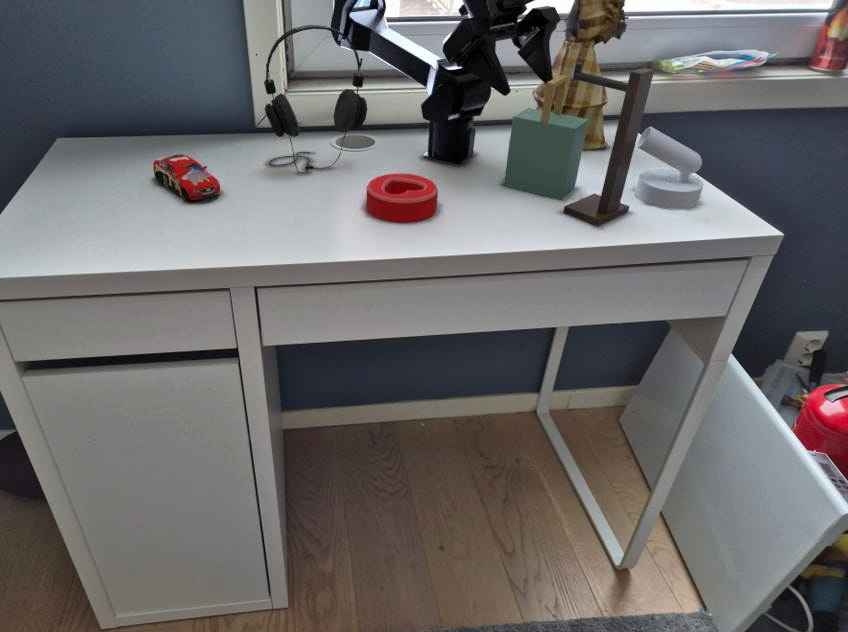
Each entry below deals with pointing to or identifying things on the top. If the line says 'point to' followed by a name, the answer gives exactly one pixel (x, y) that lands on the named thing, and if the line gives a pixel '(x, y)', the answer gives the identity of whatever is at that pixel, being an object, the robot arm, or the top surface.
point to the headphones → (347, 107)
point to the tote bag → (546, 147)
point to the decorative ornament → (401, 198)
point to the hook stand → (615, 147)
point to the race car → (185, 177)
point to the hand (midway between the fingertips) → (529, 88)
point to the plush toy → (585, 62)
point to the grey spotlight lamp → (669, 173)
